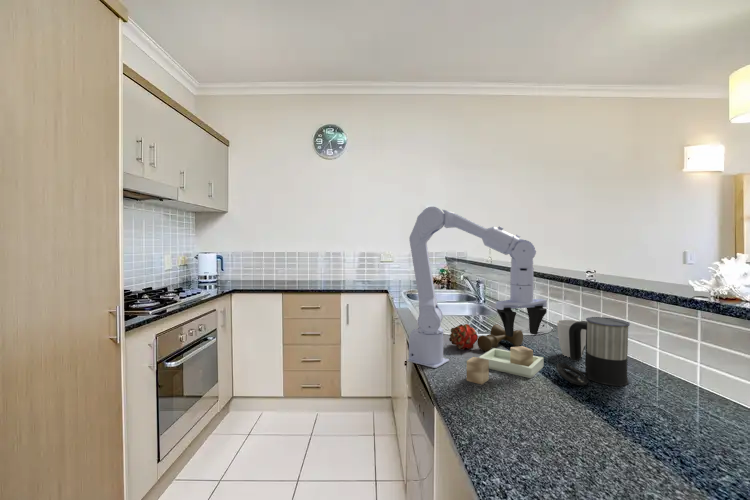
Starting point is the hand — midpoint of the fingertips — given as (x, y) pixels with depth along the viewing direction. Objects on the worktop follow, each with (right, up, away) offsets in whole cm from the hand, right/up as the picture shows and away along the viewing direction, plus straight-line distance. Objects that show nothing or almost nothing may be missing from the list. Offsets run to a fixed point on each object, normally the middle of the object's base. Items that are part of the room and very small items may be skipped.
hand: (521, 334), depth 95 cm
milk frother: (+14, -10, -8) cm, 19 cm away
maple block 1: (-14, -10, -7) cm, 18 cm away
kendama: (+2, -9, +23) cm, 25 cm away
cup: (+20, -9, +11) cm, 25 cm away
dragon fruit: (-11, -9, +20) cm, 25 cm away
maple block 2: (0, -9, 0) cm, 9 cm away
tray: (-2, -9, +2) cm, 10 cm away
